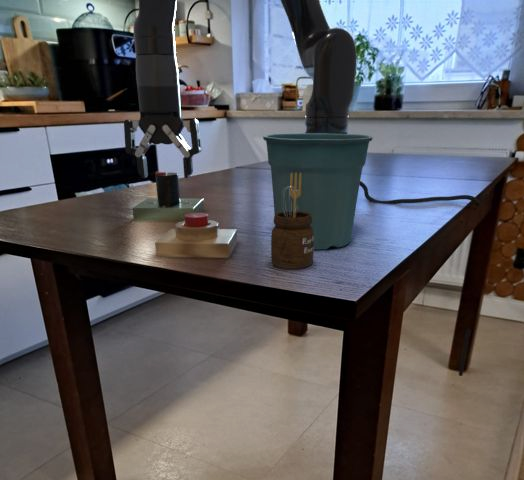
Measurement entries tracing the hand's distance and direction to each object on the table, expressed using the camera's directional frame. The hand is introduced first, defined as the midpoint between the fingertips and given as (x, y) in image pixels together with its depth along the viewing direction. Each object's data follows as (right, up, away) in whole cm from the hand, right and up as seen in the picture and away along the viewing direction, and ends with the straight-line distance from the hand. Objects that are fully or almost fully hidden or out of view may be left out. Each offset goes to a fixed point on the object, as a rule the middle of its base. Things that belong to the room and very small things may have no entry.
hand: (165, 177), depth 101 cm
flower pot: (+27, -16, -16) cm, 36 cm away
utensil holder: (+23, -22, -28) cm, 42 cm away
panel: (0, -7, +3) cm, 7 cm away
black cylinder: (0, -4, +2) cm, 5 cm away
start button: (+9, -15, -22) cm, 28 cm away
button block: (+9, -18, -20) cm, 28 cm away
